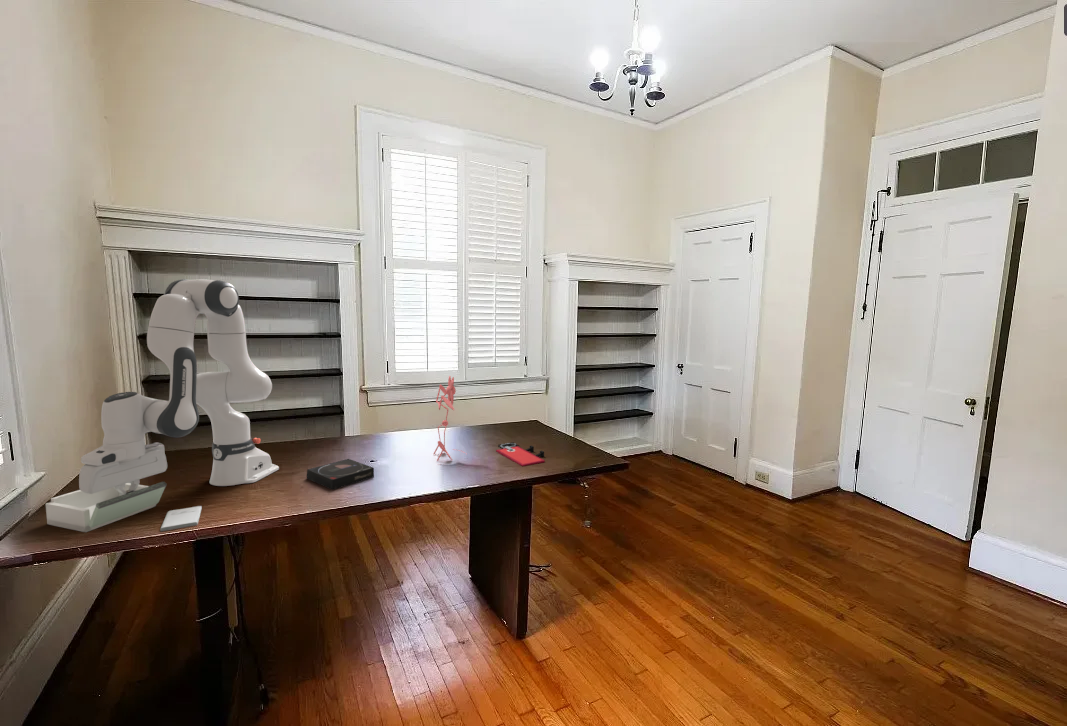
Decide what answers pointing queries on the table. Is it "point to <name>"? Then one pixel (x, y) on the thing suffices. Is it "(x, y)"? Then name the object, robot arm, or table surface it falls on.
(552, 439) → the table surface
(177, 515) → the external hard drive
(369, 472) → the portable cd player
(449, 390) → the figurine
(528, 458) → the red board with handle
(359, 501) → the table surface
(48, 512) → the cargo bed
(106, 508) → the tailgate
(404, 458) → the table surface
